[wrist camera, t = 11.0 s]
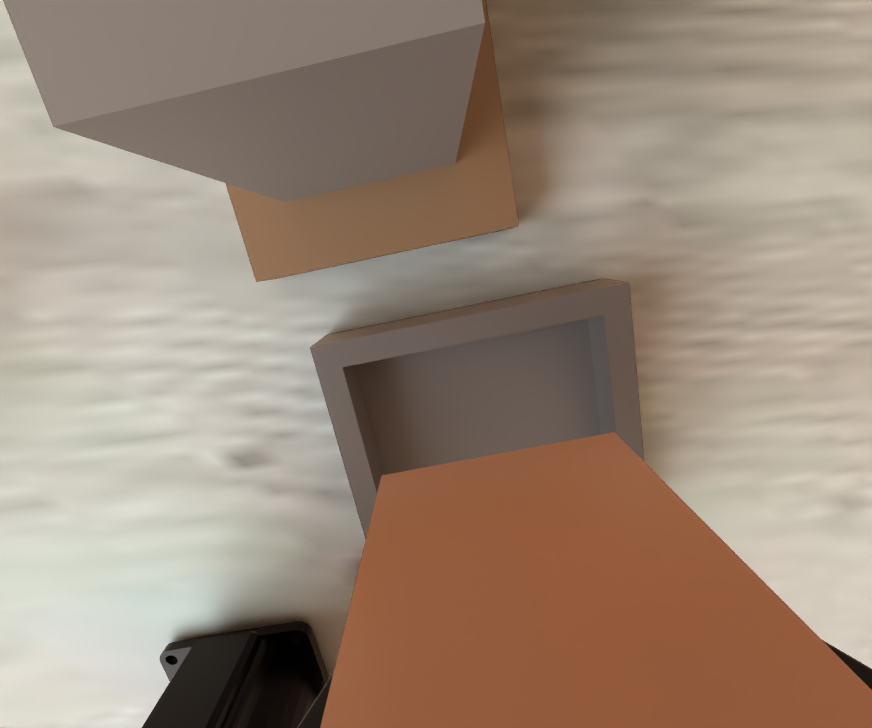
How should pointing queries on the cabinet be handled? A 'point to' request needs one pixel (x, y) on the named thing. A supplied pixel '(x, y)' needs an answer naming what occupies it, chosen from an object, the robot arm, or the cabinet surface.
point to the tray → (481, 382)
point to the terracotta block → (569, 608)
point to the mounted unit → (293, 113)
